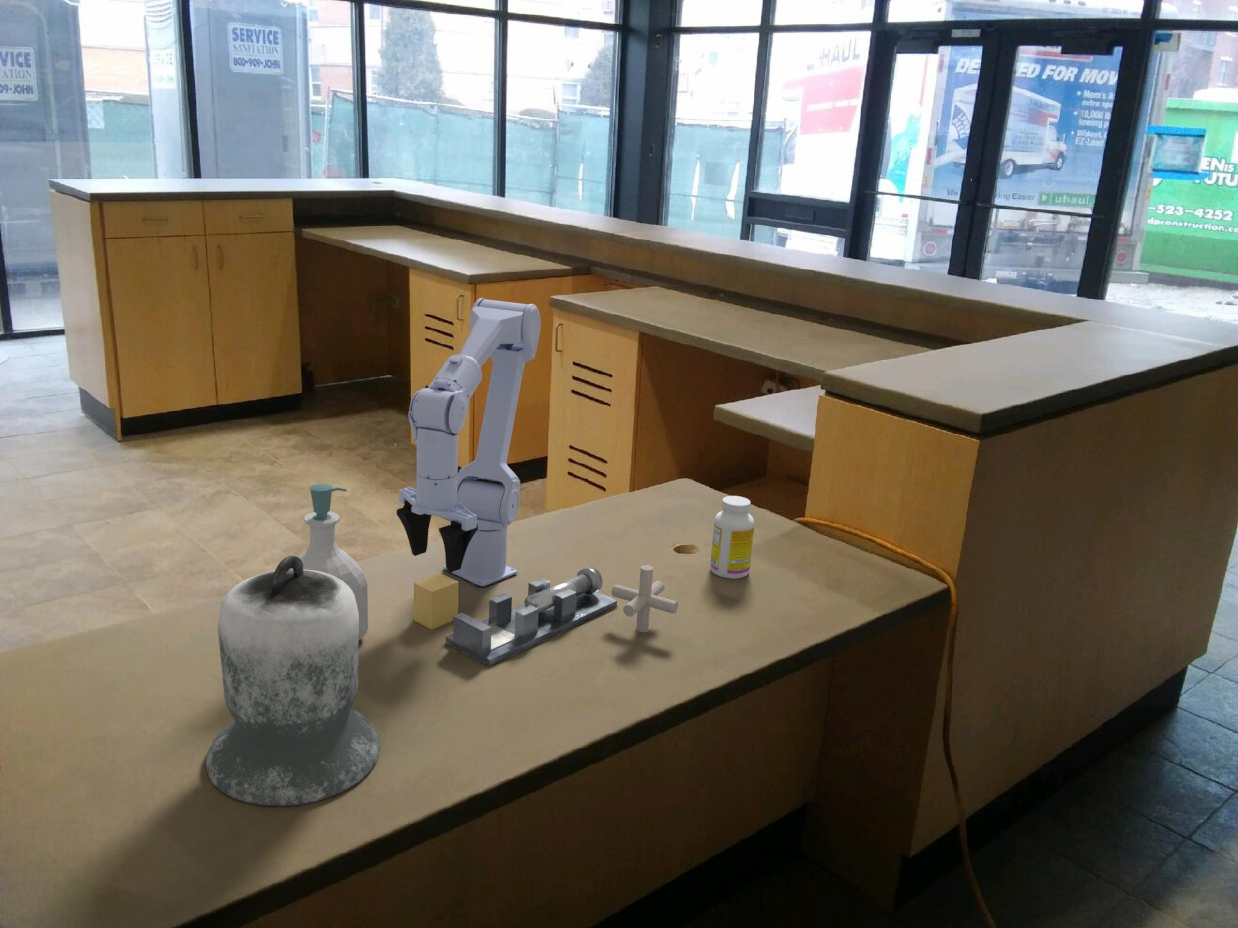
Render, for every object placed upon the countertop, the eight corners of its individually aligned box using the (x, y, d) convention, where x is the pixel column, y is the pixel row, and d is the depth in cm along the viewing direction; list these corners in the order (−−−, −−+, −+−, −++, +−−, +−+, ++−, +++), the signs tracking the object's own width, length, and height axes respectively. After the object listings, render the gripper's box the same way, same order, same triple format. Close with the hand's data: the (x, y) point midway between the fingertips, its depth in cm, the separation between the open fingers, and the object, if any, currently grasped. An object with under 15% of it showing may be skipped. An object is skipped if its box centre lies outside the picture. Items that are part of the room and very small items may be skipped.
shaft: (520, 613, 159) (521, 588, 157) (582, 586, 169) (583, 563, 167) (540, 622, 156) (541, 597, 155) (601, 594, 166) (603, 571, 165)
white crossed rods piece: (596, 633, 157) (600, 570, 154) (627, 608, 165) (632, 548, 162) (657, 652, 153) (663, 588, 150) (686, 625, 161) (692, 564, 158)
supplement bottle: (755, 570, 182) (763, 500, 178) (738, 583, 176) (746, 511, 172) (720, 560, 185) (727, 490, 181) (702, 572, 180) (709, 501, 176)
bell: (407, 727, 131) (407, 539, 123) (329, 823, 113) (323, 610, 105) (266, 698, 135) (256, 514, 127) (169, 786, 117) (151, 578, 109)
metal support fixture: (445, 642, 151) (445, 612, 150) (573, 587, 171) (575, 559, 170) (489, 666, 146) (490, 634, 145) (616, 606, 166) (618, 577, 164)
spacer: (413, 620, 158) (413, 582, 156) (440, 609, 161) (440, 573, 159) (431, 629, 155) (432, 591, 153) (457, 618, 159) (458, 581, 157)
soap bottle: (374, 640, 151) (372, 488, 144) (314, 662, 144) (308, 504, 137) (335, 615, 157) (332, 469, 150) (276, 636, 150) (269, 483, 143)
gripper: (381, 465, 152) (382, 553, 157) (450, 493, 144) (448, 585, 148) (420, 455, 157) (420, 541, 162) (488, 481, 149) (486, 571, 153)
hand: (436, 561), depth 155 cm, fingers open, 7 cm apart
